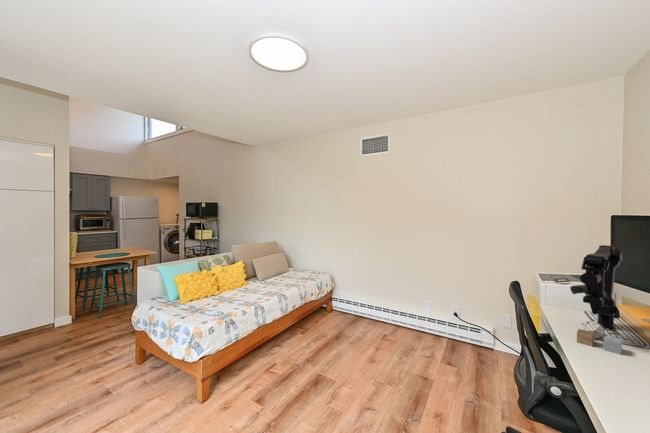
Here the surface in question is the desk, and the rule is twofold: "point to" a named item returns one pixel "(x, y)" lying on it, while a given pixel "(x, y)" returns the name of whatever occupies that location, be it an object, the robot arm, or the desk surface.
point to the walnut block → (585, 337)
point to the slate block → (612, 344)
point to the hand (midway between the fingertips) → (594, 314)
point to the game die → (594, 328)
